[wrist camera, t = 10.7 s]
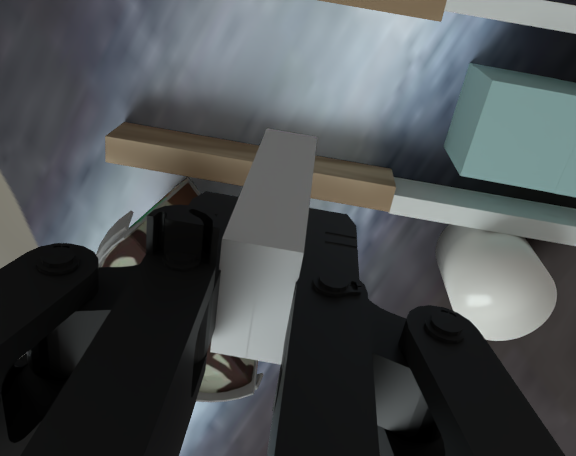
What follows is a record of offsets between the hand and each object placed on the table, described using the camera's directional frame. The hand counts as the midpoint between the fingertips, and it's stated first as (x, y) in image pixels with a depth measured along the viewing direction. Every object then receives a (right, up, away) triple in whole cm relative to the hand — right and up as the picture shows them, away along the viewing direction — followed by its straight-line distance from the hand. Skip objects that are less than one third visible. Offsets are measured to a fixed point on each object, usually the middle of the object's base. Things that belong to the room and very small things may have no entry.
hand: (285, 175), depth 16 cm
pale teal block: (+12, +5, +15) cm, 20 cm away
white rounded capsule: (+13, -3, +19) cm, 23 cm away
